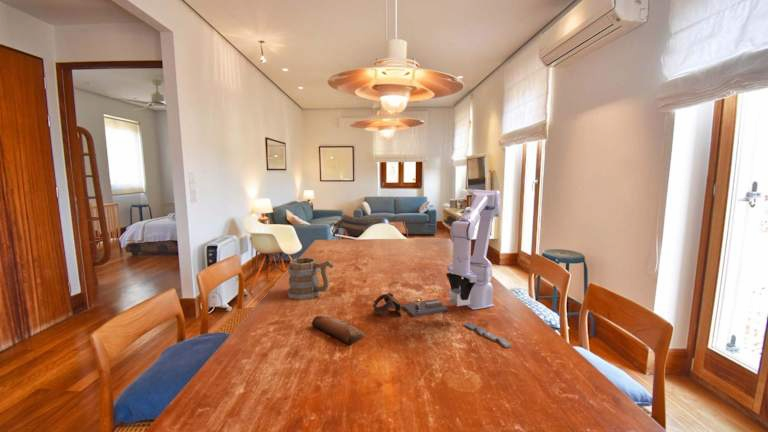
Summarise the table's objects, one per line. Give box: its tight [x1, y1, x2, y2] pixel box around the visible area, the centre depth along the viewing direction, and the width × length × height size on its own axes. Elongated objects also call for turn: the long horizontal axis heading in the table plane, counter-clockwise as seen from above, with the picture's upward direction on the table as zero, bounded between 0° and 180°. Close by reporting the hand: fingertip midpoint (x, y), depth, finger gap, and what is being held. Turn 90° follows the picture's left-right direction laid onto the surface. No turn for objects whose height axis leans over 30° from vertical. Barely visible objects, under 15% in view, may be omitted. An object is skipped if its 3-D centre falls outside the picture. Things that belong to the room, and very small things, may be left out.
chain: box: [464, 321, 512, 348], centre depth 101 cm, size 3×17×1 cm, turn 34°
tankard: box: [286, 257, 335, 301], centre depth 133 cm, size 20×13×15 cm, turn 68°
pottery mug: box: [372, 292, 403, 318], centre depth 116 cm, size 12×10×8 cm
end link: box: [448, 287, 470, 307], centre depth 110 cm, size 5×5×4 cm
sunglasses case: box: [311, 315, 368, 346], centre depth 103 cm, size 18×7×7 cm
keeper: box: [401, 298, 449, 317], centre depth 120 cm, size 14×9×4 cm, turn 111°
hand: (459, 296), depth 110 cm, fingers closed on end link, 5 cm apart
